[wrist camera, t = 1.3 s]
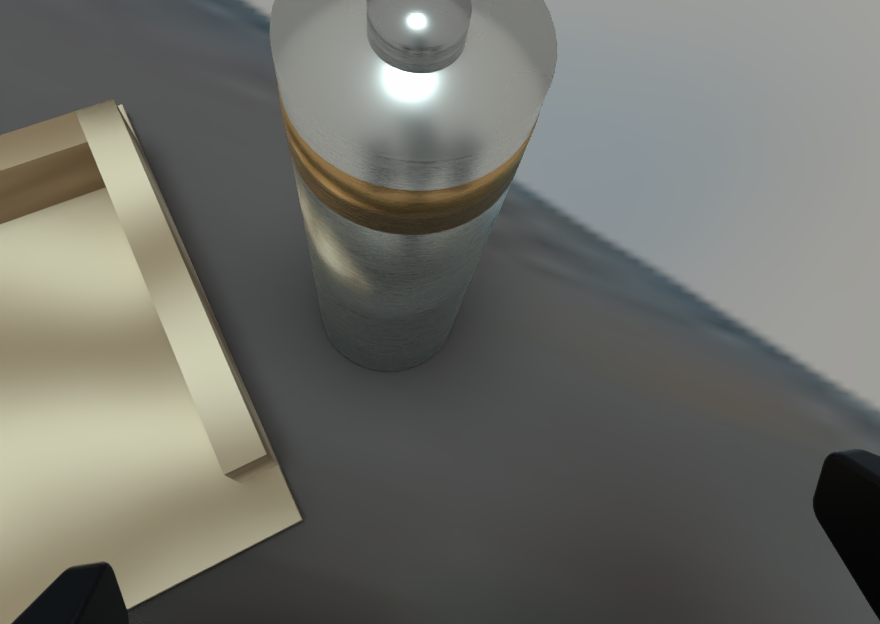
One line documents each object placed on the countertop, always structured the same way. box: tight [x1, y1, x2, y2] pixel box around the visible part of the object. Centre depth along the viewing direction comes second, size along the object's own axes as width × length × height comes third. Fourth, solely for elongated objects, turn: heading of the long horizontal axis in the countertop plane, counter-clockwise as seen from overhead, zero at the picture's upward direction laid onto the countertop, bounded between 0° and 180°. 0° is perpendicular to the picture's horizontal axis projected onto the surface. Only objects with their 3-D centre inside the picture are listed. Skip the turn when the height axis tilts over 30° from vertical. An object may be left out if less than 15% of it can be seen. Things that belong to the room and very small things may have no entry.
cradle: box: [0, 99, 303, 624], centre depth 19 cm, size 16×11×3 cm
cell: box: [270, 0, 557, 372], centre depth 16 cm, size 5×5×14 cm
